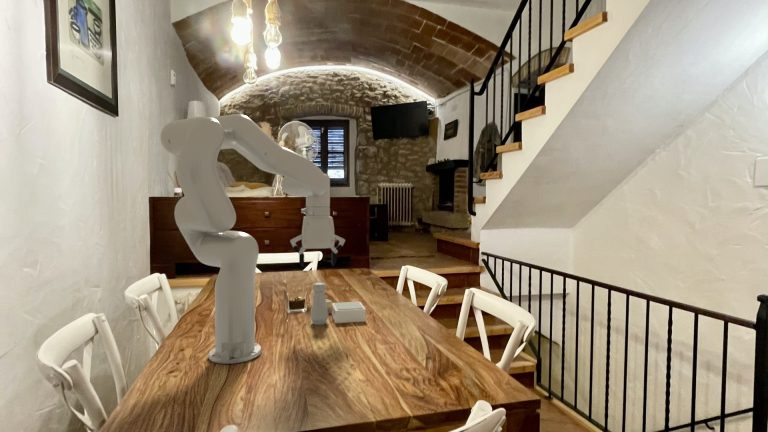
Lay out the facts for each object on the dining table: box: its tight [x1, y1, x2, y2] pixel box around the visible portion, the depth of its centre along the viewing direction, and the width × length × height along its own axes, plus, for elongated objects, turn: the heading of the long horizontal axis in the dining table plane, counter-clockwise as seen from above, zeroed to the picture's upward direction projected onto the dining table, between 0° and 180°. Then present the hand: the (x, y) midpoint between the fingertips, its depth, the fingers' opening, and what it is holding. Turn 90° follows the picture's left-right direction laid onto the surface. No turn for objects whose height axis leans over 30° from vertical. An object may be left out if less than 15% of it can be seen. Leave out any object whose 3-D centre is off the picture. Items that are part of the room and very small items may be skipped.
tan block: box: [325, 298, 334, 314], centre depth 144 cm, size 4×4×4 cm
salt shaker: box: [310, 282, 329, 326], centre depth 131 cm, size 6×6×13 cm
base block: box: [331, 301, 367, 324], centre depth 137 cm, size 10×10×4 cm
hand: (318, 265), depth 131 cm, fingers open, 9 cm apart
